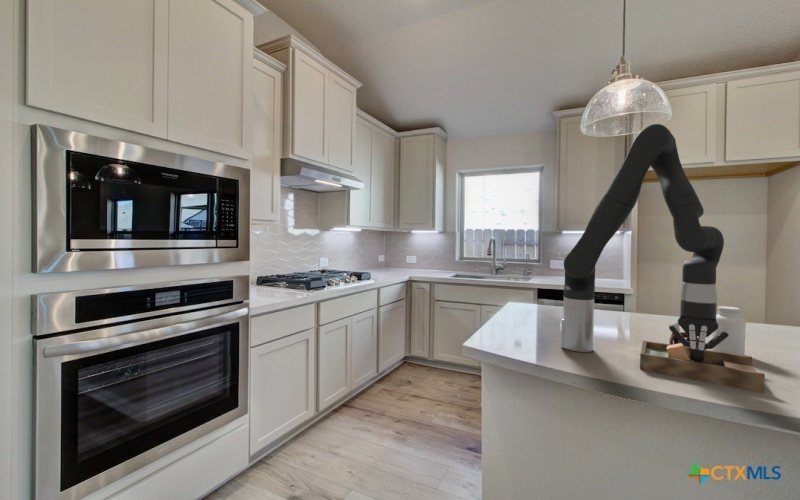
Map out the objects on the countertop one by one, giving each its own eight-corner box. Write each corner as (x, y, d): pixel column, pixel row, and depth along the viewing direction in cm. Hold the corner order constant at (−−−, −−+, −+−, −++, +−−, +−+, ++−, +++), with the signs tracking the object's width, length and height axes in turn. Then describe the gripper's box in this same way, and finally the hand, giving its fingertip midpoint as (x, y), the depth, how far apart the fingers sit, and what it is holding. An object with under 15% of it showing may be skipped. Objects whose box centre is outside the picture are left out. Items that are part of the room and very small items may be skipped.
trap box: (639, 369, 101) (640, 353, 101) (642, 354, 114) (643, 340, 114) (763, 392, 86) (764, 374, 86) (751, 372, 99) (751, 356, 99)
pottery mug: (716, 361, 109) (710, 340, 107) (685, 373, 110) (678, 352, 108) (687, 340, 120) (681, 321, 118) (659, 351, 122) (652, 332, 120)
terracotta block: (673, 363, 99) (666, 348, 100) (674, 359, 102) (667, 345, 103) (690, 360, 96) (682, 345, 97) (690, 356, 99) (683, 342, 100)
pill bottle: (704, 349, 119) (706, 305, 118) (726, 349, 119) (728, 305, 119) (728, 357, 111) (730, 310, 110) (751, 357, 111) (753, 309, 111)
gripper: (729, 300, 95) (727, 363, 96) (667, 295, 103) (666, 354, 104) (733, 304, 89) (731, 371, 90) (667, 298, 97) (666, 361, 98)
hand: (696, 362), depth 97 cm, fingers closed
